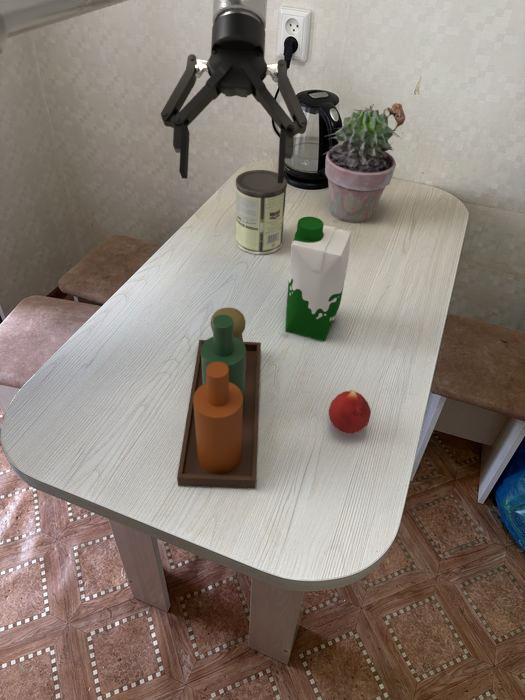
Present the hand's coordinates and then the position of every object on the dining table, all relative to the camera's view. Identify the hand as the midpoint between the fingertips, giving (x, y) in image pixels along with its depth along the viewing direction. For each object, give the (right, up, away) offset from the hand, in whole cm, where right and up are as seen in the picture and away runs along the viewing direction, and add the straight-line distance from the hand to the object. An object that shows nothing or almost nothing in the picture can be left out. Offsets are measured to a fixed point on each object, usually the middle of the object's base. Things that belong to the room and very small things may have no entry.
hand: (232, 177), depth 70 cm
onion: (+16, -36, +4) cm, 40 cm away
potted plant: (+25, +9, +51) cm, 57 cm away
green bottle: (-1, -33, +5) cm, 33 cm away
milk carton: (+13, -20, +20) cm, 31 cm away
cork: (-1, -27, +11) cm, 29 cm away
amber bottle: (-2, -39, -1) cm, 39 cm away
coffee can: (+3, -1, +40) cm, 40 cm away
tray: (-1, -33, +5) cm, 34 cm away
